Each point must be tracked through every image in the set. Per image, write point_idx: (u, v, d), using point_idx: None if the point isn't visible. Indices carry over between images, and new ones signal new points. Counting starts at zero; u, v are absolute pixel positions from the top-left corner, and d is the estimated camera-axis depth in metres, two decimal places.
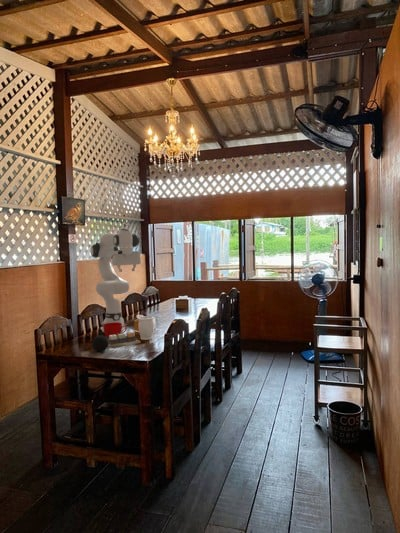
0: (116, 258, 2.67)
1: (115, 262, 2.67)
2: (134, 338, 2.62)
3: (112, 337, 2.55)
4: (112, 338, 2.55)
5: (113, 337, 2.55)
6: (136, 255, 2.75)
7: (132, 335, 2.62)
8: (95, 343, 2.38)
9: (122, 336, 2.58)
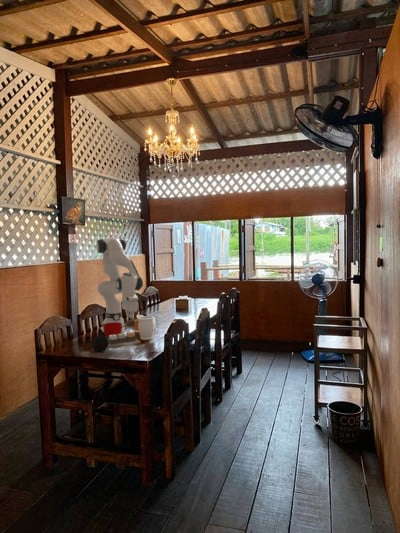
0: None
1: None
2: (134, 338, 2.62)
3: (112, 337, 2.55)
4: (112, 338, 2.55)
5: (113, 337, 2.55)
6: None
7: (132, 335, 2.62)
8: (95, 343, 2.38)
9: (122, 336, 2.58)
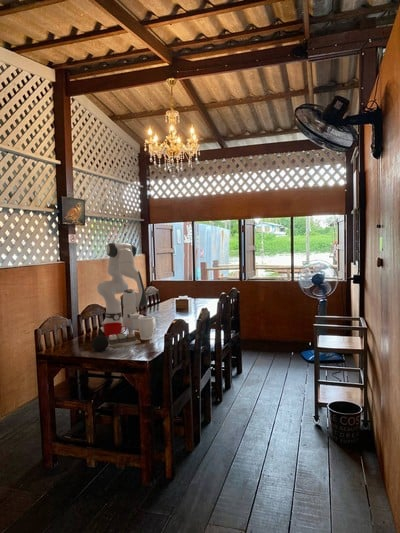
0: None
1: None
2: (134, 338, 2.62)
3: (112, 337, 2.55)
4: (112, 338, 2.55)
5: (113, 337, 2.55)
6: None
7: (132, 336, 2.62)
8: (95, 343, 2.38)
9: (122, 336, 2.58)
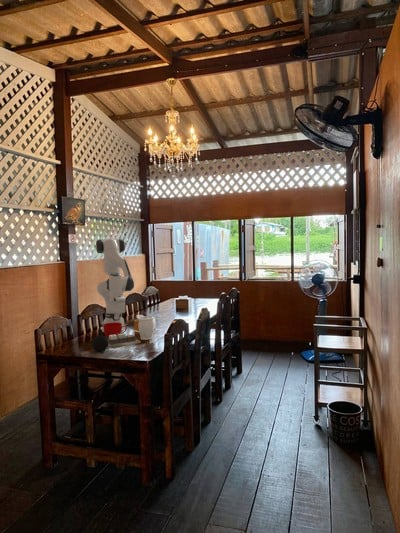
0: None
1: None
2: (134, 338, 2.62)
3: (112, 337, 2.55)
4: (112, 338, 2.55)
5: (113, 337, 2.55)
6: None
7: None
8: (95, 343, 2.38)
9: (122, 336, 2.58)
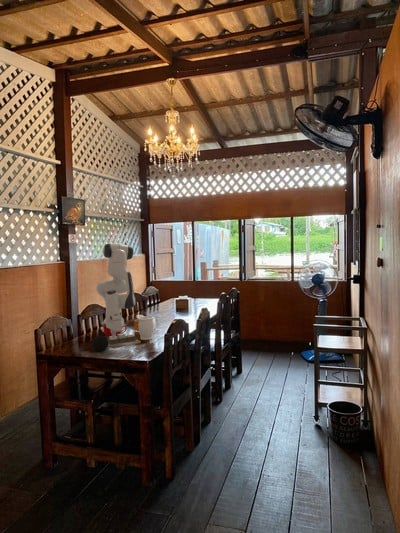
0: None
1: None
2: (134, 338, 2.62)
3: (112, 338, 2.55)
4: (112, 339, 2.55)
5: (113, 338, 2.55)
6: None
7: None
8: (95, 343, 2.38)
9: (122, 336, 2.58)
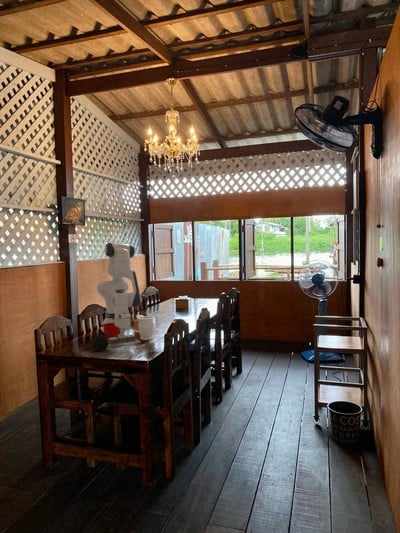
0: None
1: None
2: (134, 338, 2.62)
3: None
4: None
5: None
6: None
7: None
8: (95, 343, 2.38)
9: (122, 337, 2.59)
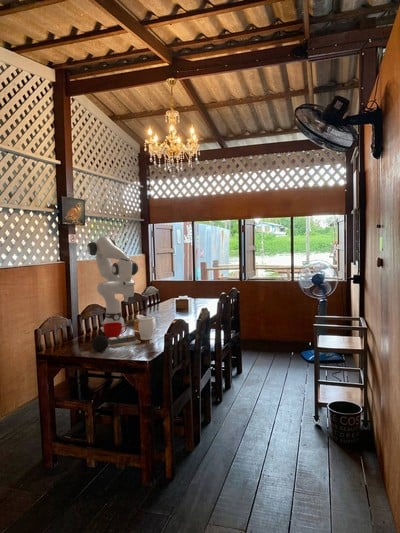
0: None
1: None
2: (134, 338, 2.62)
3: None
4: None
5: None
6: None
7: None
8: (95, 343, 2.38)
9: None
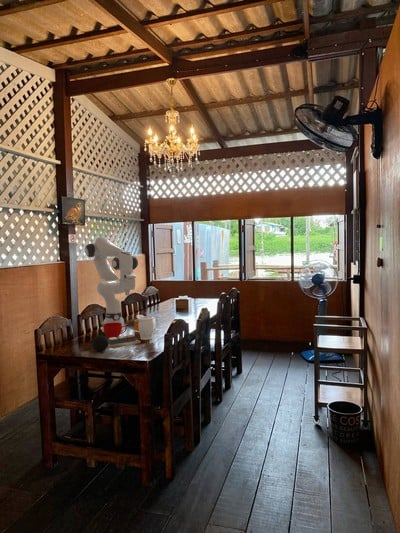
0: None
1: None
2: (134, 338, 2.62)
3: None
4: None
5: None
6: None
7: None
8: (95, 343, 2.38)
9: None
